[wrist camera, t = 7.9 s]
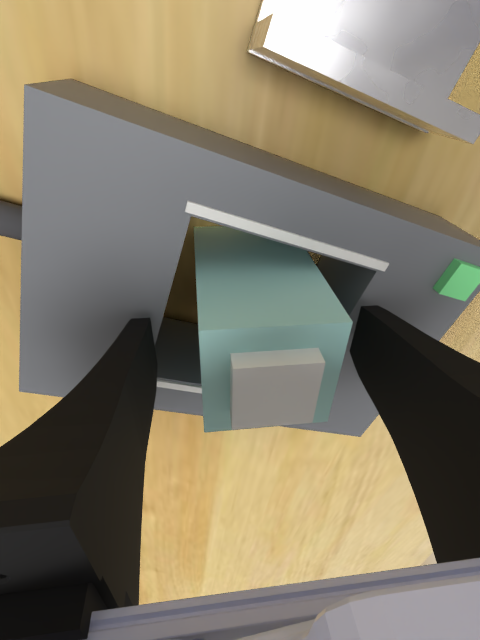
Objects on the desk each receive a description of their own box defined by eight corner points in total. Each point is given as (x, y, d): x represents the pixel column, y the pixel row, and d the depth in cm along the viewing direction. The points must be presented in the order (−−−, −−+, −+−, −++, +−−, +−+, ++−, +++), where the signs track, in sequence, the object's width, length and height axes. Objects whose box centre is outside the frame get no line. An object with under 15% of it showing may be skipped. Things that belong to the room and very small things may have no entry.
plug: (289, 224, 15) (361, 336, 9) (281, 304, 17) (333, 437, 11) (193, 226, 14) (199, 346, 8) (198, 308, 17) (204, 449, 11)
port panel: (440, 217, 15) (516, 262, 12) (333, 378, 21) (363, 443, 17) (71, 78, 11) (17, 85, 8) (52, 326, 16) (14, 399, 13)
